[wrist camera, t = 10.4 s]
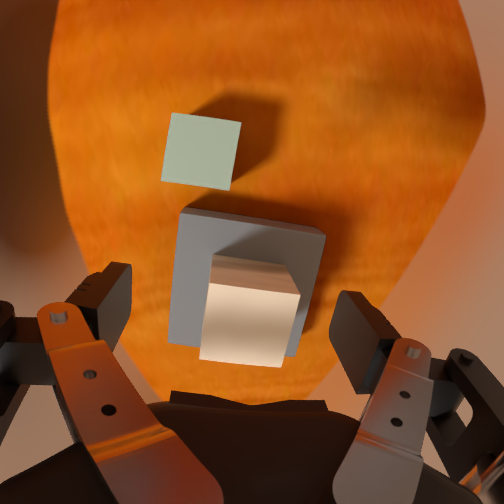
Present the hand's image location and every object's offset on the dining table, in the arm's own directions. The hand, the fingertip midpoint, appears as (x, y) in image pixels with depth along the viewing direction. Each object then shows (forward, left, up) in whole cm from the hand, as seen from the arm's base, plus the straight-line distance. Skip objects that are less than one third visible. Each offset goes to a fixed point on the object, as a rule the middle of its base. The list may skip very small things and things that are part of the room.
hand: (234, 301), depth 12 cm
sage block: (-5, -3, -17) cm, 18 cm away
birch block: (+6, +2, -14) cm, 15 cm away
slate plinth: (+6, +2, -17) cm, 18 cm away
